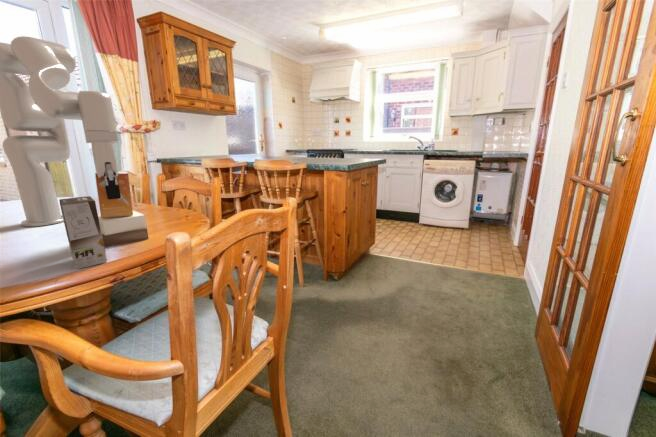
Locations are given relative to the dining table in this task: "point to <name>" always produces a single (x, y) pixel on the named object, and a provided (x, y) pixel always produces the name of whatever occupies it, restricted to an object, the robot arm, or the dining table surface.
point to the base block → (125, 237)
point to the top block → (122, 223)
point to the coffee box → (83, 231)
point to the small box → (115, 205)
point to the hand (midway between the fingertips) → (112, 196)
